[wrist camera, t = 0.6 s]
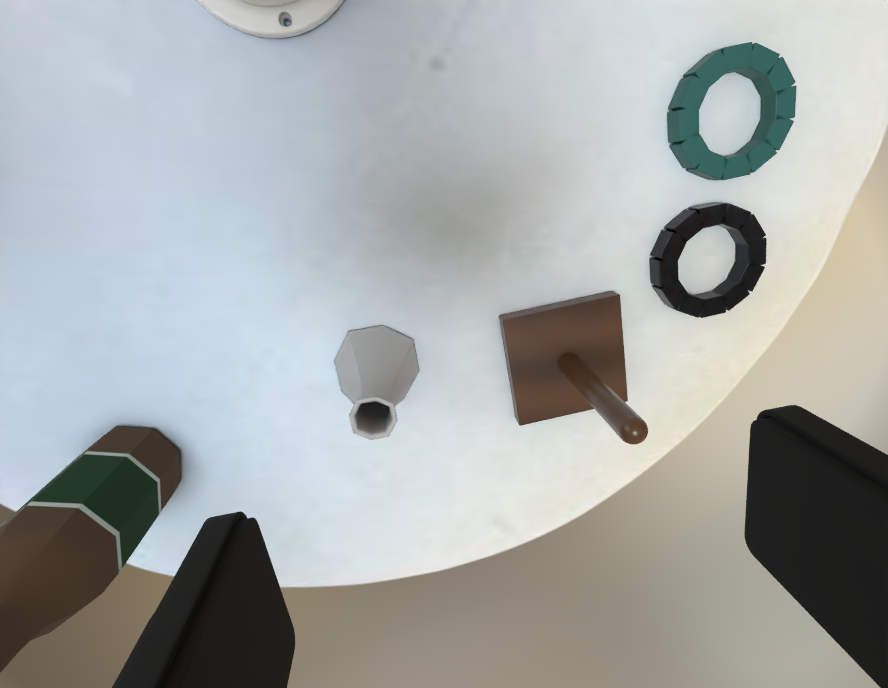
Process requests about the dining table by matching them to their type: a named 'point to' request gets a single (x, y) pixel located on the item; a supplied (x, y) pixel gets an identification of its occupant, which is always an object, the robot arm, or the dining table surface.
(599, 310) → the stand
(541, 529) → the dining table surface
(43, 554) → the beer bottle
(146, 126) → the dining table surface
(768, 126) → the teal ring
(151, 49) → the dining table surface
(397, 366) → the flask
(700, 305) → the graphite ring
